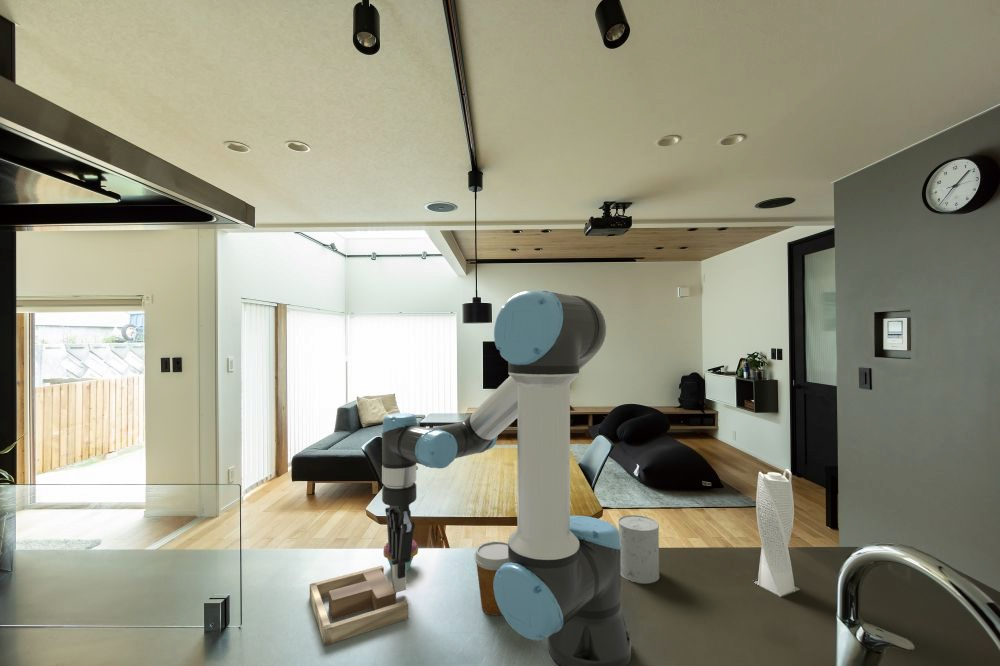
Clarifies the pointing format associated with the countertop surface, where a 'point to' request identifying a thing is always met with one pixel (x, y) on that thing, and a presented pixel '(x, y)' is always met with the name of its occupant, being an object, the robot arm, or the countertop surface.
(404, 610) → the bay
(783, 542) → the skyscraper
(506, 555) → the disposable coffee cup
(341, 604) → the t block
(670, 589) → the countertop surface
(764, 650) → the countertop surface
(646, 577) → the white marble cylinder
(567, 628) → the robot arm
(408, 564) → the cupcake
